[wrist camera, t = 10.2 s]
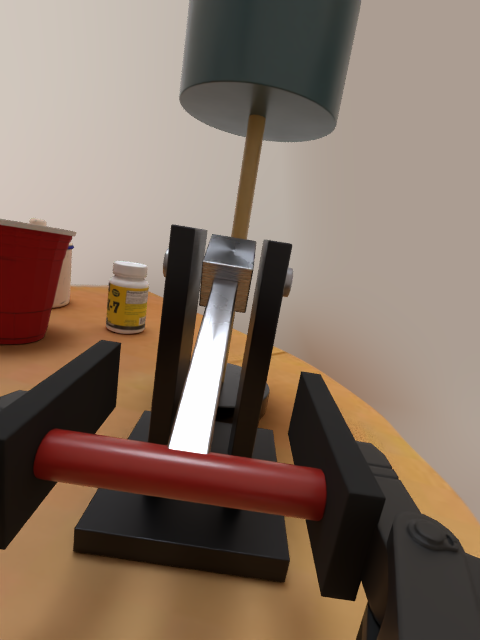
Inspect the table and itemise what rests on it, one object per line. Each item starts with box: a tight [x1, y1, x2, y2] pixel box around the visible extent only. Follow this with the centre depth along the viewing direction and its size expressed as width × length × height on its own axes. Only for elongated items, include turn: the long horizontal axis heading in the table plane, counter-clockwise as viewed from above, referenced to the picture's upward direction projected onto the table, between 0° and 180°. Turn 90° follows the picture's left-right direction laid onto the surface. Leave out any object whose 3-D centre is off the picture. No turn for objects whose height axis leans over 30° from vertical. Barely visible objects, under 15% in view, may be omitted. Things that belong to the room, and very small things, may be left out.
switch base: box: [73, 225, 293, 583], centre depth 18 cm, size 10×9×14 cm
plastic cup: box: [0, 219, 76, 344], centre depth 35 cm, size 11×11×12 cm
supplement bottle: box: [106, 261, 149, 334], centre depth 43 cm, size 5×5×8 cm
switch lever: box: [33, 234, 327, 521], centre depth 13 cm, size 12×7×2 cm, turn 178°
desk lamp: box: [179, 0, 361, 424], centre depth 26 cm, size 11×11×29 cm
